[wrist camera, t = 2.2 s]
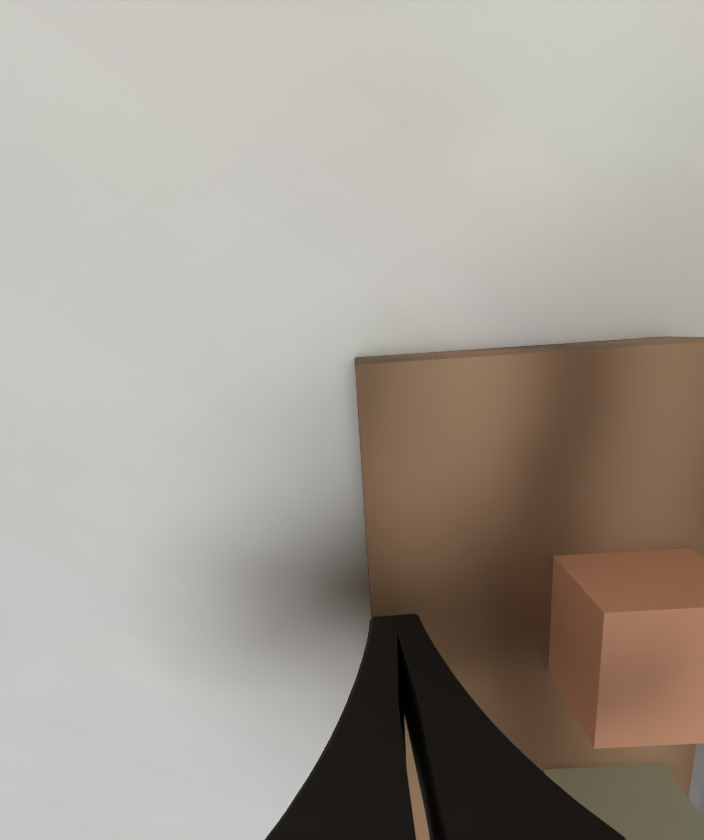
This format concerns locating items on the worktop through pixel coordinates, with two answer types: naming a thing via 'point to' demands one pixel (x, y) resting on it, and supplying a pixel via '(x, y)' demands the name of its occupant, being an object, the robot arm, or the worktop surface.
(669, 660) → the tile terracotta
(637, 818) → the tile sage
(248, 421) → the worktop surface
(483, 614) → the board
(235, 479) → the worktop surface
